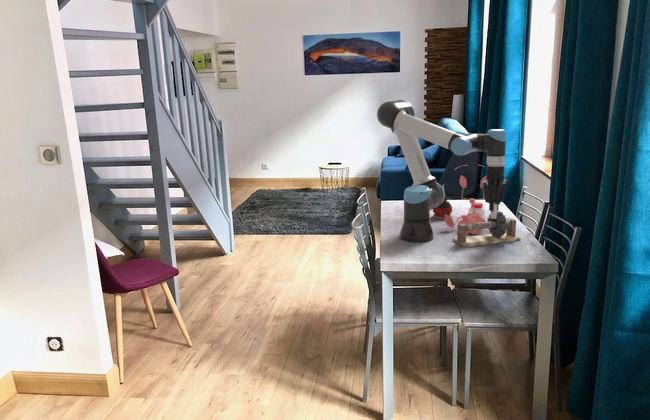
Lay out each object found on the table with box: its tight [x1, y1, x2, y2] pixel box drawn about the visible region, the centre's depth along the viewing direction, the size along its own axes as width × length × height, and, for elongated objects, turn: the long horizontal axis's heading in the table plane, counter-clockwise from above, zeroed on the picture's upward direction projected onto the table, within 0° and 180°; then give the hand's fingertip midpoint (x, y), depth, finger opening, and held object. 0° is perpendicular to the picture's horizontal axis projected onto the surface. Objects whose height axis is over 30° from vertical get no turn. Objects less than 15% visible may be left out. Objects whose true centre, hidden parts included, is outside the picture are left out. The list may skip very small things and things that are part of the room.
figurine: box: [444, 164, 487, 235], centre depth 252 cm, size 15×26×35 cm
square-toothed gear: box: [486, 210, 508, 237], centre depth 235 cm, size 3×11×11 cm, turn 16°
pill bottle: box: [468, 202, 486, 220], centre depth 258 cm, size 8×8×11 cm
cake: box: [432, 183, 453, 220], centre depth 274 cm, size 11×9×18 cm
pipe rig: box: [452, 217, 521, 248], centre depth 234 cm, size 28×10×9 cm, turn 106°
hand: (493, 218), depth 233 cm, fingers closed
